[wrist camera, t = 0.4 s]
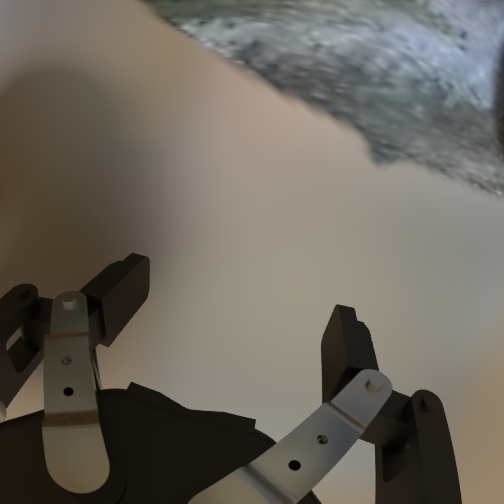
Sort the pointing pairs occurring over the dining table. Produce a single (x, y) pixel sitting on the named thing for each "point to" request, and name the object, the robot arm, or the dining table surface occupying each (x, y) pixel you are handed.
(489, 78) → the dining table surface
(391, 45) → the dining table surface
